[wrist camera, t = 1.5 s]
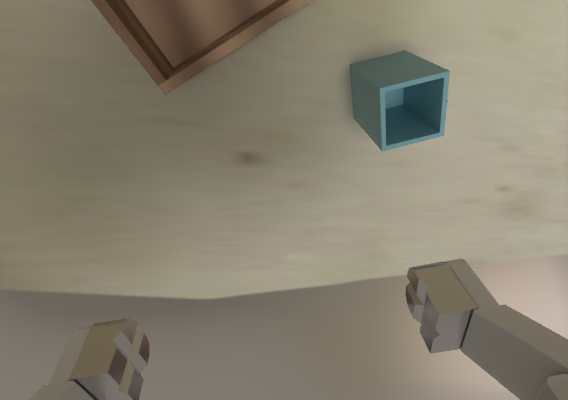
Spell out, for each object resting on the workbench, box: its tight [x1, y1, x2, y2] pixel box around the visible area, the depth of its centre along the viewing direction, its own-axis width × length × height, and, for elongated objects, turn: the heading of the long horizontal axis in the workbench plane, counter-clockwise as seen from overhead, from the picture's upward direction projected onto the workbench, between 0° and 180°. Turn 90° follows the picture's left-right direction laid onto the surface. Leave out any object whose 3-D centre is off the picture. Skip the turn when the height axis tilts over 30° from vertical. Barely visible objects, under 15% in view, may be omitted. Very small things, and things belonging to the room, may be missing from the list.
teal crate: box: [350, 51, 450, 151], centre depth 31 cm, size 6×6×8 cm
